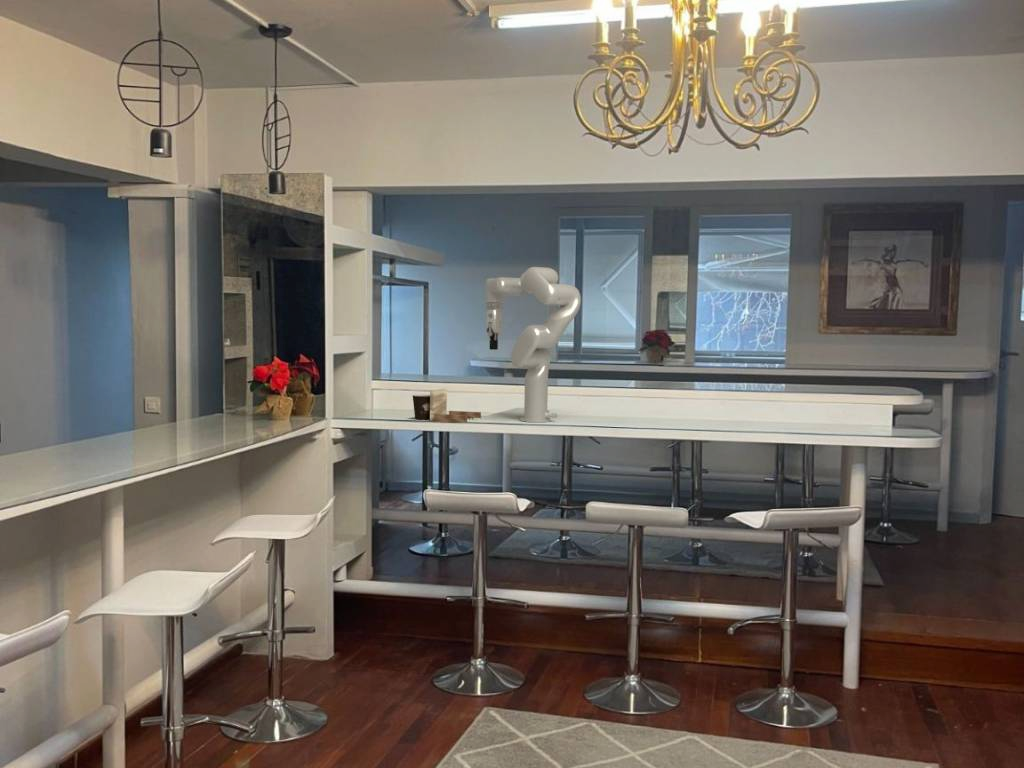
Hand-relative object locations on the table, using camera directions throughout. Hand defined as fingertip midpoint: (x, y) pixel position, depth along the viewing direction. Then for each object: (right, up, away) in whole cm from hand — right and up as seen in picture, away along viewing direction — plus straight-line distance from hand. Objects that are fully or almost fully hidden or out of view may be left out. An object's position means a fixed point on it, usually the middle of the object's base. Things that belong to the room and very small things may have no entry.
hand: (493, 349), depth 415 cm
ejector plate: (-23, -30, -15) cm, 40 cm away
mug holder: (-15, -30, -18) cm, 38 cm away
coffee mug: (-28, -30, -15) cm, 44 cm away
